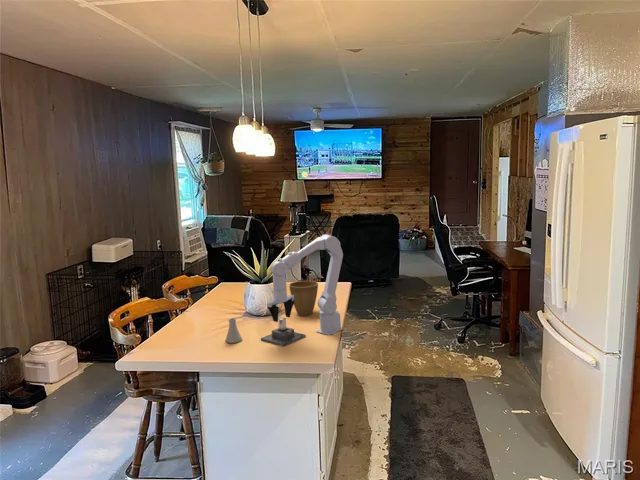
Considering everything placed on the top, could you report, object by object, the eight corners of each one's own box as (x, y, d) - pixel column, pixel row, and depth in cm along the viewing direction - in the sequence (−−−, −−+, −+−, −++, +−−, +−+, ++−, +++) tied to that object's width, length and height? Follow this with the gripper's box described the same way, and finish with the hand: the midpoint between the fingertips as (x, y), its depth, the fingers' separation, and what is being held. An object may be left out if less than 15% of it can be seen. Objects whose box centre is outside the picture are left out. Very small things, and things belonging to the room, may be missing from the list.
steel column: (283, 334, 216) (282, 317, 215) (288, 335, 214) (287, 318, 213) (277, 336, 213) (276, 319, 212) (283, 337, 211) (282, 320, 210)
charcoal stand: (283, 331, 224) (282, 323, 223) (305, 336, 214) (305, 328, 214) (260, 340, 213) (260, 331, 213) (283, 346, 204) (282, 337, 203)
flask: (222, 341, 214) (220, 319, 213) (236, 337, 219) (234, 315, 218) (231, 345, 209) (229, 322, 208) (245, 340, 214) (243, 318, 213)
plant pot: (307, 319, 239) (305, 288, 237) (285, 315, 248) (283, 285, 246) (325, 312, 251) (323, 282, 249) (303, 308, 260) (301, 279, 258)
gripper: (285, 284, 219) (287, 313, 220) (261, 291, 208) (263, 322, 210) (296, 286, 214) (298, 316, 216) (272, 293, 203) (274, 324, 205)
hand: (281, 319), depth 212 cm, fingers open, 7 cm apart
